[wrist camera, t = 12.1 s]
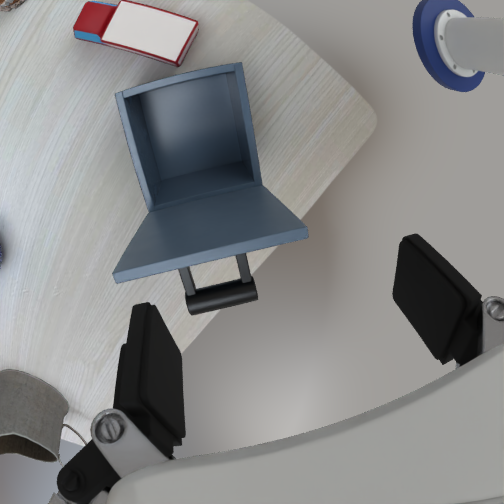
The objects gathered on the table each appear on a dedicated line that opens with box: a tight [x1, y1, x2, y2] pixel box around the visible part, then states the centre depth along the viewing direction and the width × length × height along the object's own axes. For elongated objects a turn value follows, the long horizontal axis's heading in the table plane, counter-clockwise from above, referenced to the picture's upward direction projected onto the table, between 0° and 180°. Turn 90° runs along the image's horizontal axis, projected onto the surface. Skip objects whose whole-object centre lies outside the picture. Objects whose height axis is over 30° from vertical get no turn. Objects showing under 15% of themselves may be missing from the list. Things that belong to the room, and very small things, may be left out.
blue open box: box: [115, 62, 262, 213], centre depth 32 cm, size 14×13×10 cm
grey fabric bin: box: [0, 370, 87, 467], centre depth 51 cm, size 23×32×25 cm
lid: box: [112, 185, 308, 315], centre depth 26 cm, size 14×13×5 cm
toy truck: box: [73, 0, 199, 67], centre depth 25 cm, size 6×15×7 cm, turn 64°
